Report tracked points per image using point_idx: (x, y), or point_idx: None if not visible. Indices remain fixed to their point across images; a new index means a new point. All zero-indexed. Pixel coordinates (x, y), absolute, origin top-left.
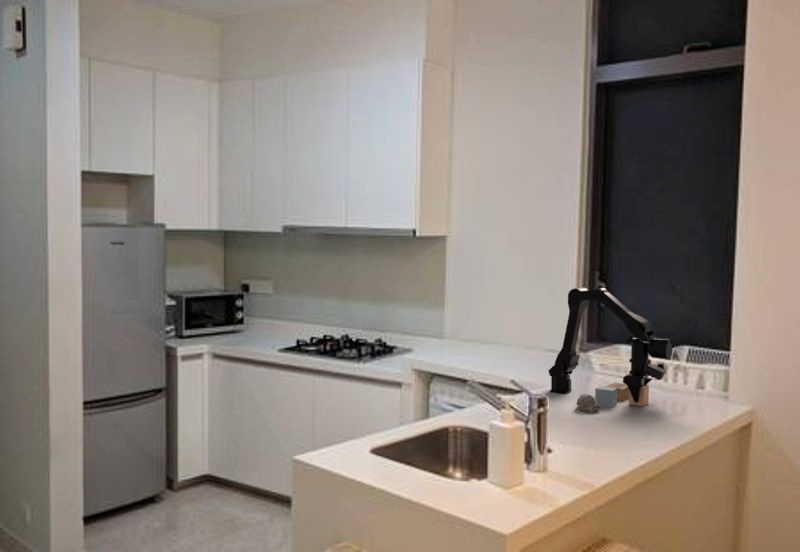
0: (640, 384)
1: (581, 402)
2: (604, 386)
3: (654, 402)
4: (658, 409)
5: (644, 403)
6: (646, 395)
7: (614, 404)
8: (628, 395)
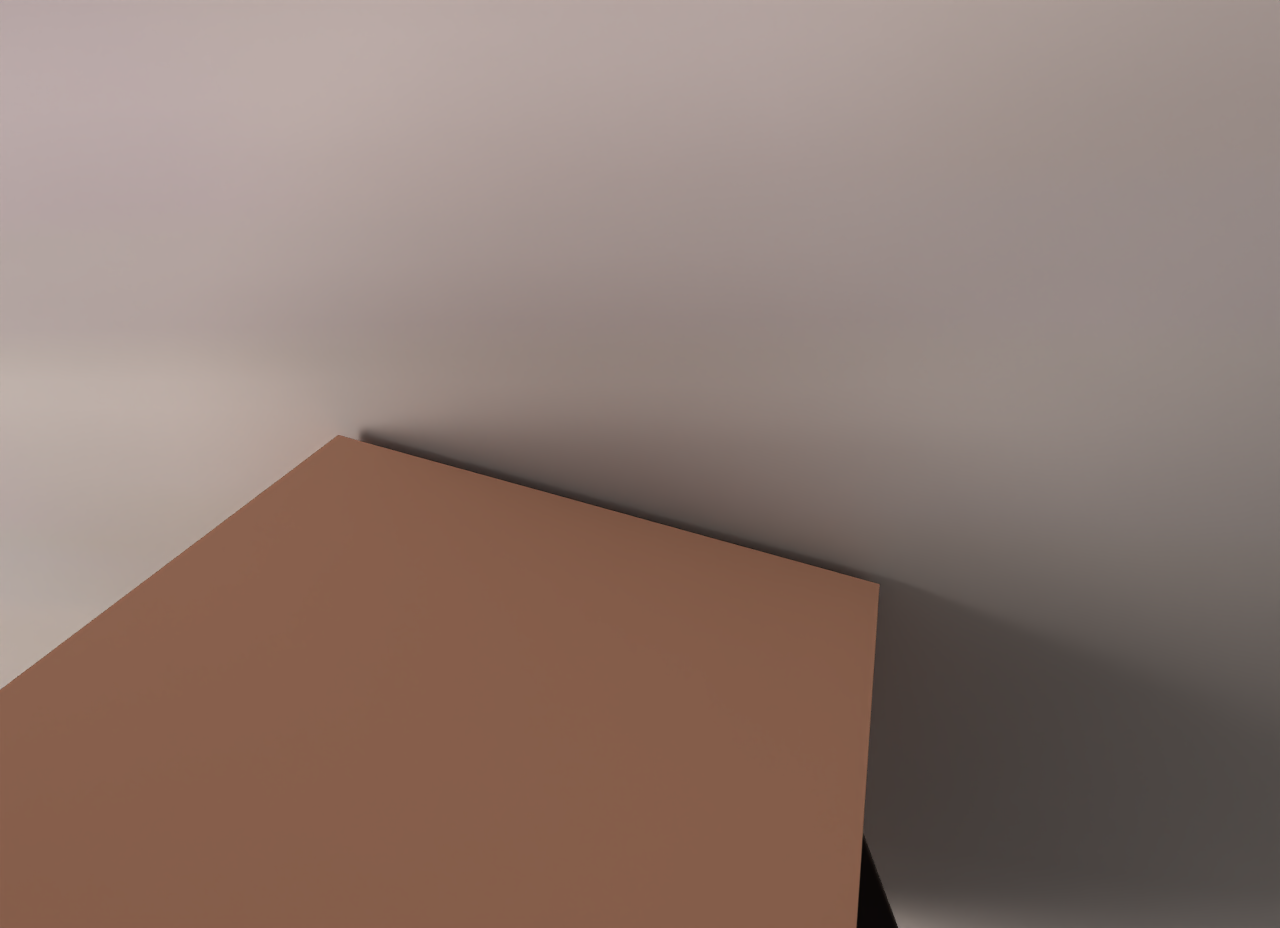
0: None
1: None
2: None
3: (145, 259)
4: (1246, 35)
5: (797, 613)
6: (452, 709)
7: None
8: None
